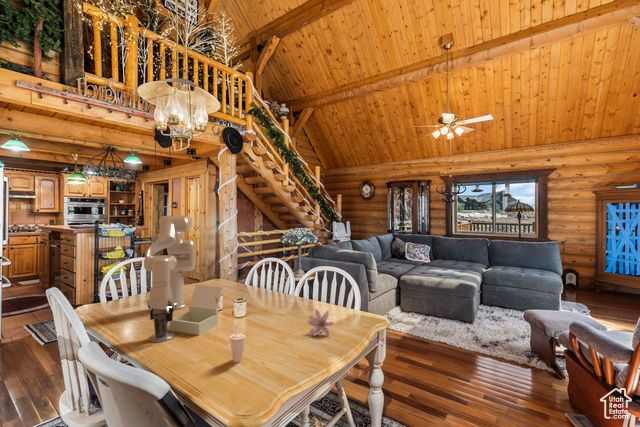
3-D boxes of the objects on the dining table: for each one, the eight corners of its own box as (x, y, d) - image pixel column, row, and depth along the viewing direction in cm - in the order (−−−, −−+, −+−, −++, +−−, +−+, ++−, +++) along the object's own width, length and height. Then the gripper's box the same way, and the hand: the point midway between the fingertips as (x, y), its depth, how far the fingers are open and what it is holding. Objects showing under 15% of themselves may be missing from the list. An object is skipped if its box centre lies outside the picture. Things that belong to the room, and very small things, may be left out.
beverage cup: (173, 334, 145) (172, 292, 144) (160, 340, 138) (160, 297, 138) (161, 332, 147) (161, 291, 147) (148, 338, 140) (148, 295, 140)
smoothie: (231, 356, 123) (231, 322, 123) (247, 355, 124) (247, 322, 124) (227, 364, 117) (227, 328, 117) (244, 363, 117) (244, 328, 117)
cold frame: (170, 330, 150) (169, 293, 150) (196, 317, 168) (196, 284, 168) (199, 335, 145) (198, 296, 145) (223, 321, 163) (223, 286, 162)
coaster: (142, 340, 138) (142, 339, 138) (162, 331, 149) (162, 330, 149) (161, 344, 135) (161, 342, 135) (179, 334, 145) (179, 333, 145)
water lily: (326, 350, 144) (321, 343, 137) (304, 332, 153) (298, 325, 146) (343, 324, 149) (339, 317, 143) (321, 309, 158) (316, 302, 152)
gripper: (140, 284, 141) (140, 320, 141) (169, 287, 135) (169, 324, 136) (153, 281, 148) (154, 315, 148) (181, 283, 143) (181, 319, 143)
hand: (161, 319), depth 142 cm, fingers open, 9 cm apart
